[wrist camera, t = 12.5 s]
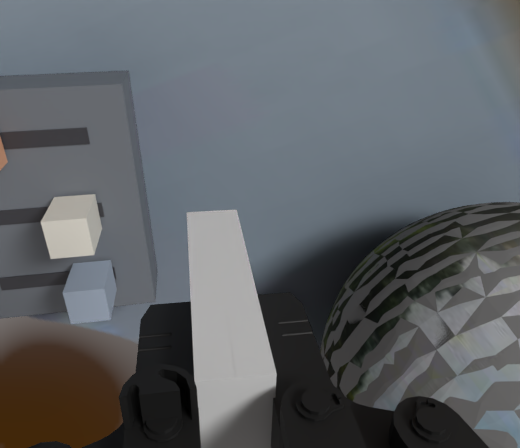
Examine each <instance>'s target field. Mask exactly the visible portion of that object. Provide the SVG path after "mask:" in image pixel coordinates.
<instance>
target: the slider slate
mask: <svg viewBox="0 0 520 448" xmlns="http://www.w3.org/2000/svg"><path fill="white" fill-rule="evenodd" d="M116 291H117V288H116V283H115V278H114V273H113V268H112V263H111V260H105V261H94V262H83V263H73V265H72V268H71V271H70V273H69V276H68V279H67V282H66V285H65V287H64V290H63V296H64V300H65V304H66V307H67V311H68V315H69V319H70V322H71V324H77V323H86V322H95V321H105V320H111V317H112V311H113V306H114V301H115V296H116Z"/></svg>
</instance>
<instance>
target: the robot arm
mask: <svg viewBox="0 0 520 448" xmlns="http://www.w3.org/2000/svg"><path fill="white" fill-rule="evenodd" d="M187 228H188V250H189V272H190V294H191V302H181V303H168V304H156V305H150V307H149V308H148V310H147V311H146V313H145V314H144V316H143V317H142V319H141V323H140V334H139V344H138V355H137V365H136V373H135V374H134V375H132V376H131V377H130V379H129V380H128V381H127V382H126V383H125V384H124V385H123V387H122V390H121V393H120V396H119V400H120V406H121V411H122V417H123V423H122V425H121V426H120V427H119V428H118V429H117V430H115V431H114V432H113V433H111V434H110V435H109V436H107V437H105V438H103V439H101V440H99V441H97V442H94V443H92V444H90V445H87V446H85V447H82V448H489V447H488V446H487V445H486V444H485V443H484V441H483V440H482V439H481V438H480V437H479V436H478V435H477V434H476V433H475V432H474V431H473V430H472V428H471V427H470V426H469V425H468V424H467V423H466V422H465V421H464V420H463V419H462V418H461V416H460V415H459V414H458V413H456V412H455V411H454V410H453V409H452V408H450V407H449V406H448V405H447V404H445V403H442V402H440V401H438V400H436V399H434V398H429V397H423V396H416V397H410V398H406V399H405V400H403V401H402V402H400V403H398V405H397V407H396V409H395V411H391V410H385V409H379V408H373V407H368V406H364V405H360V404H357V403H355V402H353V401H351V400H349V399H348V398H346V397H345V396H344V394H343V392H342V391H340V390H339V389H338V388H336V387H335V386H334V385H333V383H332V381H331V379H330V377H329V374H328V372H327V369H326V366H325V363H324V361H323V358H322V355H321V353H320V350H319V347H318V345H317V342H316V339H315V336H314V334H313V332H312V328H311V326H310V323H309V322H308V317H307V315H306V312H305V309H304V307H303V304H302V303H301V302H300V301H299V300H298V299H297V298H296V297H294V296H293V295H292V294H291V293H290V292H288V293H275V294H263V295H257V291H256V287H255V283H254V279H253V275H252V271H251V267H250V263H249V259H248V255H247V250H246V246H245V242H244V238H243V234H242V230H241V226H240V222H239V218H238V214H237V210H221V211H203V212H187ZM29 448H71V447H70V446H69V445H67V444H63V443H60V442H57V441H55V442H44V443H39V444H36V445H34V446H31V447H29Z"/></svg>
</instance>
